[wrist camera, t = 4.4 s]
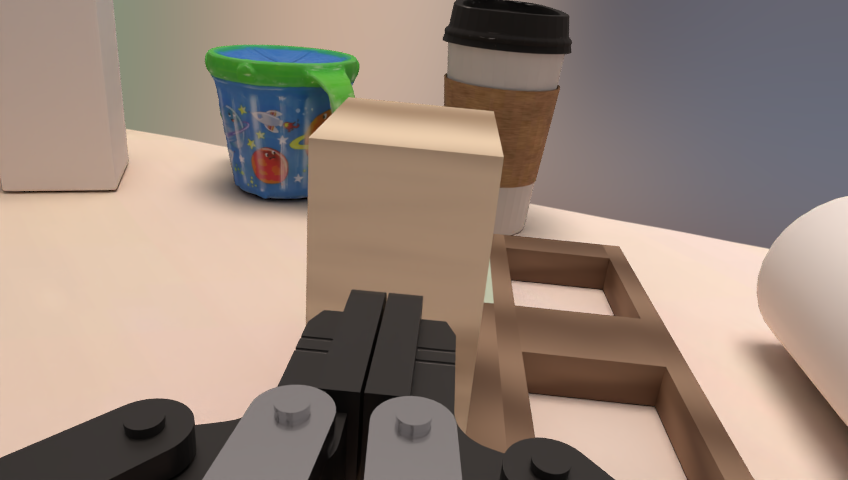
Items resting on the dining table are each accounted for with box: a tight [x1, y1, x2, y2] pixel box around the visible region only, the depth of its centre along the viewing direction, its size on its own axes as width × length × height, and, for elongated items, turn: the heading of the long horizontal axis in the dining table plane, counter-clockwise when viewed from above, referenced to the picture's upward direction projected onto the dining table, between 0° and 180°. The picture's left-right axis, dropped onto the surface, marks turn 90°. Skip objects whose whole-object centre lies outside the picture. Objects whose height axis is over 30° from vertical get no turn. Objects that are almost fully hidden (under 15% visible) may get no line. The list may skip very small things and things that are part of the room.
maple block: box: [306, 97, 504, 434], centre depth 21 cm, size 6×5×10 cm
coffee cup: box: [443, 0, 572, 235], centre depth 43 cm, size 8×8×15 cm
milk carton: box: [0, 0, 129, 191], centre depth 43 cm, size 7×7×19 cm
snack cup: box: [205, 45, 359, 199], centre depth 47 cm, size 16×10×10 cm
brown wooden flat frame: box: [466, 234, 754, 480], centre depth 28 cm, size 22×16×2 cm
